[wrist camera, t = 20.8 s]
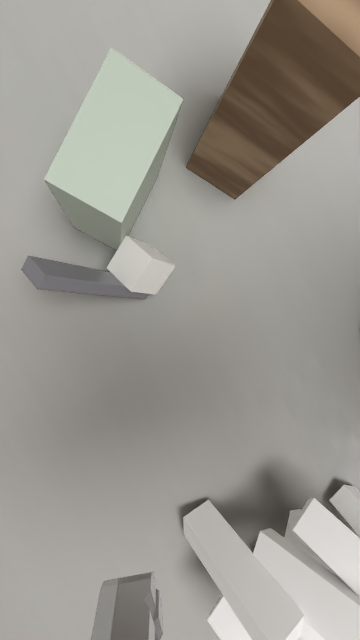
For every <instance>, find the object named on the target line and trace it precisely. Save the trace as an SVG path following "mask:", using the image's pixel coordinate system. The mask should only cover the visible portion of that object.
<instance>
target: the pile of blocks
mask: <svg viewBox="0 0 360 640" xmlns="http://www.w3.org/2000/svg"><path fill="white" fill-rule="evenodd" d="M329 501H330V502H331V503H332V504H333V505H334V507H335V508H336V509H337V510H338V511H339V513H340V514H341V515H342V516H343V517H344V519H345V520H346V521H347V522H348V523H349V524H350V526H351V527H352V528H353V529H354V530H355V532H356V533H357V534H358V535H359V536H360V491H359V490H358V489H357V488H356V487H355V486H349V485H343V486H342V487H341V488H340V489H339V490H338V491H337V493H336V494H335V495H334V496H333V497H332V498H331V499H330V500H329ZM183 526H184V536H185V538H186V539H187V541H188V542H189V544H190V545H191V547H192V548H193V550H194V551H195V553H196V555H197V556H198V558H199V559H200V561H201V562H202V564H203V565H204V567H205V568H206V570H207V571H208V573H209V574H210V576H211V578H212V579H213V581H214V582H215V584H216V585H217V587H218V588H219V590H220V591H221V593H222V596H221V597H220V598H219V600H218V601H217V603H216V604H215V606H214V607H213V609H212V610H211V612H210V614H209V617H208V619H207V621H208V622H209V624H210V625H211V627H212V628H213V629H214V631H215V632H216V634H217V635H218V637H219V638H220V639H221V640H360V538H359V537H358V536H357V535H355V534H354V533H353V532H352V531H351V530H350V529H349V528H348V527H346V526H345V525H344V524H343V523H342V522H341V521H340V520H339V519H337V518H336V517H335V516H334V515H333V514H332V513H331V512H330V511H329V510H327V509H326V508H325V507H324V506H323V505H322V504H321V503H320V502H318V501H317V500H316V499H315V498H310V499H308V501H307V502H306V504H305V505H304V507H303V508H302V510H301V509H296V510H291V511H290V515H289V519H288V523H287V528H286V532H285V537H283V536H281V535H280V534H278V533H277V532H276V531H274V530H273V529H271V528H269V529H265V530H262V531H260V533H259V536H258V539H257V542H256V546H255V549H254V552H253V553H252V551H251V550H250V549H249V548H248V547H247V545H246V544H245V543H244V542H243V541H242V539H241V538H240V537H239V536H238V535H237V533H236V532H235V531H234V530H233V529H232V527H231V526H230V525H229V524H228V522H227V521H226V520H225V519H224V518H223V516H222V515H221V514H220V513H219V512H218V510H217V509H216V508H215V507H214V506H213V504H212V503H211V502H210V501H209V500H207V501H206V502H204V503H203V504H201V505H200V506H199V507H197V508H196V509H194V510H193V511H191V512H190V513H189V514H187V515H186V516H184V517H183Z"/></svg>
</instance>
